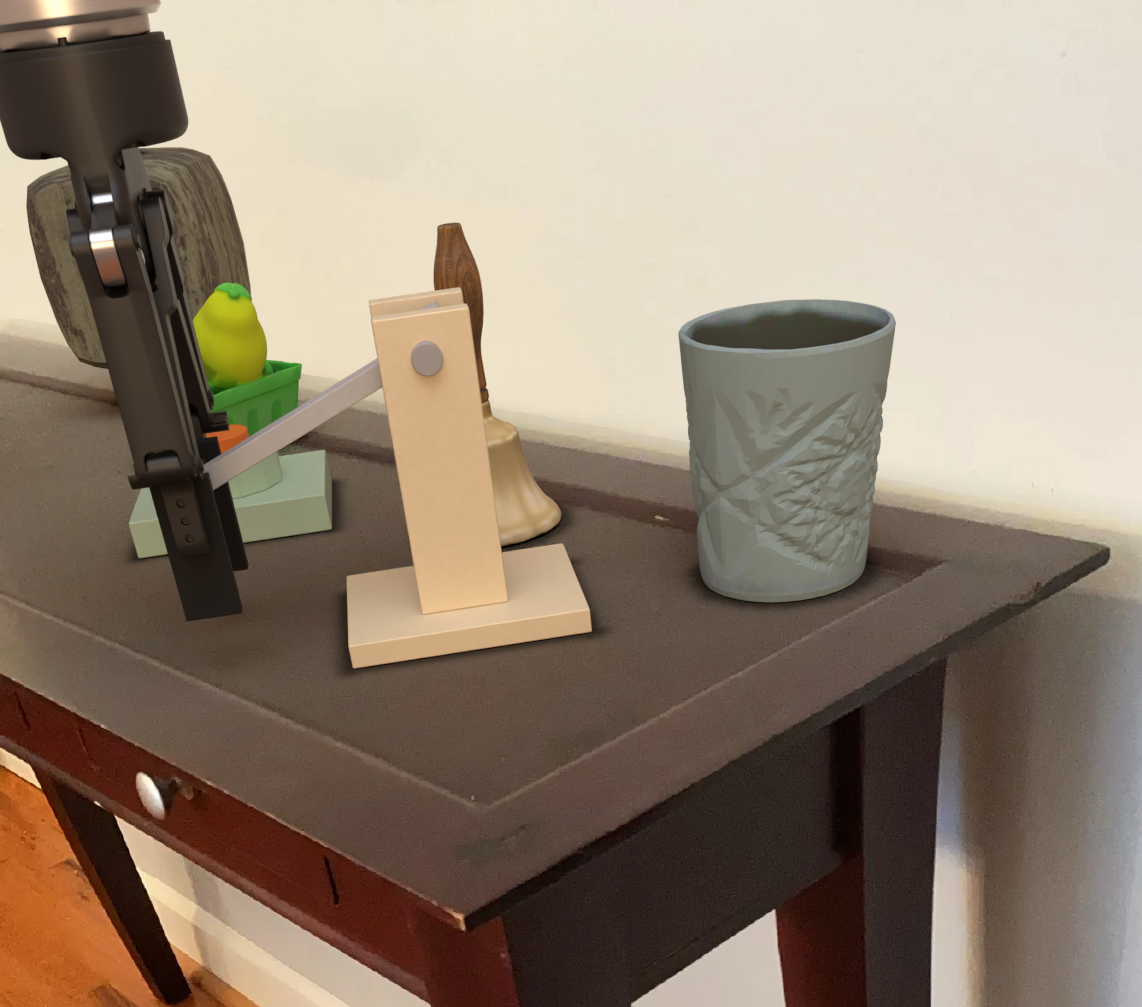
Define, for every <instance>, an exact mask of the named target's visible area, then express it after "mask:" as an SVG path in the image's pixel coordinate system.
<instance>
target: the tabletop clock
mask: <svg viewBox="0 0 1142 1007" xmlns="http://www.w3.org/2000/svg"><path fill="white" fill-rule="evenodd" d="M139 151H140V152H141V154H142V158H143V161H144V165H145V168H146V171H147V174H148V178H149V181H150V185H151V187H156V186H160V187H161V189H162V190H163V189H165V191H166V193H167V196H168V200H169V203H170V207H171V211H172V214H173V239H174V243H175V246H176V250H177V253H178V257H179V261H180V264H181V268H182V272H183V276H184V288H185V292H186V296H187V300H188V304H189V308H190V312H191V316H192V320H193V319H194V318H195V316H196V315H197V313H198V312H199V311H200V309H201V308H202V307H203V305H204V304H205V302H206V301H207V299H208V298H209V297H210V296H211V295H212V294H213V293H214V290H215V288H216V287H217V286H219V285H221V284H223V283H232V284H233V283H237V284H240V285H242V286H243V287H244V288H245V289H246V290H247V291H248V292H249V293H250V295H251V296H252V288H251V280H250V273H249V268H248V262H247V261H248V260H247V255H246V249H245V243H244V238H243V235H242V231H241V229H240V225H239V224H240V223H239V222H238V218H237V214H236V212H235V207H234V204H233V201H232V198H231V194H230V192H229V189H228V187H227V184H226V182H225V180H224V177H223V175H222V173H221V170H220V169H219V168H218V166H217V165H216V163H215V161H214V159H213V158H212V155H210V154H207V153H204V152H203V151H199V150H197V149H193V148H188V147H179V146H178V147H175V146H174V147H173V146H172V147H171V146H169V147H168V146H165V147H139ZM70 177H71V171H70V169H69V166H68V164H67V165H65V166H62V167H59V168H56V169H54V170H51V171H48V172H46V173H44V174H42V175H40V176H39V177H37V178H36V179H34V180H33V181H32V182H30V184H28V185H26V202H25V203H26V205H25V206H26V208H25V209H26V217H27V225H28V231H29V235H30V236H29V237H30V240H31V244H32V249H33V252H34V256H35V262H36V265H37V269H38V273H39V278H40V281H41V283H42V285H43V288H44V291H45V295H46V297H47V299H48V302H49V306H50V307H51V310H52V313H53V316H54V318H55V321H56V324H57V326H58V328H59V330H60V332H61V334H62V336H63V338H64V340H65V342H66V344H67V346H68V347H69V348H70V350H71V351H72V353H73V354H74V355H75V357H76V358H77V360H78V361H79V363H82V364H86V365H88V366H91V367H94V368H99V369H105V370H108V367H107V363H106V360H105V356H104V352H103V349H102V345H101V342H100V338H99V334H98V331H97V327H96V323H95V320H94V316H93V312H92V309H91V305H90V302H89V298H88V295H87V292H86V289H85V286H84V283H83V280H82V277H81V275H80V272H79V269H78V266H77V263H76V260H75V257H73V256H72V254H71V251H70V246H69V243H71V241H70V230H69V226H68V221H67V216H66V209H73V208H75V196H74V191H73V186H72V182H71V178H70Z"/></svg>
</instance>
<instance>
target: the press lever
mask: <svg viewBox="0 0 1142 1007" xmlns="http://www.w3.org/2000/svg"><path fill="white" fill-rule="evenodd" d="M437 307H438V305H437V303H436V302H435V301H434V302H432V303H430V304H429V305H427V306H425V307H424V308H422V309H421V310H423V309H430V308H437ZM381 389H383V387H382V381H381V376H380V370H379V364H378V359H377V358H375V359H374V360H371V361H370V362H369V363H367V364H365V365H364V366H362V367H360V368H358V369H357V370H355V371H354V372H353V373H351V374H349V375H347V376H346V377H344V378H342V379H341V380H340V381H338V382H336V383H334V384H333V385H331V386H329V387H328V388H326V389H325V390H323V391H321V392H320V393H318V394H317V395H315V396H313V397H312V398H309V400H307V401H305V402H304V403H302V404H300V405H298V407H297V408H295V409H294V410H292V411H291V412H289V413H287V414H286V415H284V416H282V417H281V418H279V419H278V420H276V421H274V422H273V423H271V424H269V425H268V426H266V427H265V428H263V429H261V430H260V431H258V432H256V433H255V434H253V435H252V436H250V437H248V438H247V439H245V440H243V441H242V442H240V443H239V444H237V445H235V446H234V447H232V448H230V449H229V450H227V451H226V452H224V453H222V454H221V455H219V456H217V457H216V458H214V459H213V460H211V461H209V462H208V463H207V462H206V461H205V460H204V459H202V458H200V460H202V461H203V465H204V471H203V473H208V472H209V476H210V480H211V484H212V488H213V490H215V489H216V488H218V487H220V486H221V485H223V484H225V483H226V482H228V481H230V480H231V479H233V478H234V477H236V476H238V475H239V474H241V473H243V472H244V471H246V470H248V469H249V468H251V467H252V466H254V465H256V464H257V463H259V462H261V461H262V460H264V459H266V458H267V457H269V456H270V455H272V454H274V453H275V452H277V451H278V452H279V451H281V450H282V449H284V448H285V447H287V446H288V445H290V444H292V443H294V442H295V441H297V440H299V439H300V438H301V437H303V436H305V435H306V434H308V433H310V432H312V431H313V430H315V429H316V428H318V427H319V426H322V425H323V424H324V423H326V422H328V421H330V420H331V419H332V418H334V417H336V416H338V415H339V414H341V413H343V412H344V411H346V410H348V409H349V408H350V407H352V406H354V405H356V404H358V403H359V402H361V401H362V400H364V399H366V398H367V397H369V396H370V395H372V394H374V393H376V392H377V391H378V390H381Z"/></svg>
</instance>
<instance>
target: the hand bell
mask: <svg viewBox="0 0 1142 1007" xmlns="http://www.w3.org/2000/svg"><path fill="white" fill-rule="evenodd" d="M434 254H435V255H434V261H433V289H434V290H433V291H437V290H444V289H451V288H458V287H460V288H461V290H462V294H463V302H464V304H467V305H468V308H469V313H470V320H471V328H472V335H473V342H474V350H475V357H476V365H477V372H478V379H479V387H480V394H481V402H482V409H483V417H484V424H485V431H486V439H487V446H488V454H489V461H490V468H491V476H492V483H493V491H494V498H495V506H496V513H497V520H498V528H499V535H500V543H501V547H504V546H510V545H514V544H515V545H516V544H519V543H524V542H526V541H528V540H531V539H534V538H536V537H539V536H540V535H542V534H545V533H548V532H549V531H551V530H552V529H553V528H554V527H556V526H557V525H558V524H559V523H560V521H561V519H562V511H561V509H560V508H559V506H558V503H556V502H555V501H554V500H553V499H552V498H551V497H550V496H548V495H546V493H544V491H543V490H542V489H541V488H540V486H539V485H538V483H537V482H536V480H535V479H534V477H533V475H532V472H531V470H530V467H529V466H528V463H527V460H526V457H525V454H524V450H523V447H522V443H521V439H520V434H519V431H518V429H517V427H516V426H515V425H514V424H512V423H510V422H508V421H504V420H502V419H500V418H497V417H495V416H494V415H493V411H492V407H491V401H490V393H489V390H488V388H487V386H488V385H487V378H486V373H485V368H484V362H483V356H482V334H483V327H484V315H485V314H484V313H485V312H484V310H485V309H484V294H483V285H482V280H481V274H480V271H479V267H478V265H477V262H476V259H475V257H474V254H473V253H472V250H471V248H470V245H469V243H468V240H467V239H466V236H465V232H464V230H463V226H462V223H461V222H446V223H442V224H439V225H438V226H437V228H436V247H435V253H434Z"/></svg>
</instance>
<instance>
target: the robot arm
mask: <svg viewBox="0 0 1142 1007" xmlns="http://www.w3.org/2000/svg"><path fill="white" fill-rule="evenodd" d="M161 4H162V2H161V0H0V125H1V129H2V132H3V135H4V139H5V142H6V145H7V147H8V149H9V150H10V152H11V153H12V154H13V155H14V156H16V157H17V158H20V159H23V160H28V161H45V160H51V159H58V158H61V159H63V160H64V161H66V162H67V165H68V166H69V169H70V171H71V177H70V178H71V182H72V186H73V191H74V196H75V208H73V209H66V216H67V221H68V226H69V230H70V241H71V243H69V246H70V251H71V254H72V256H73V257H75V260H76V263H77V266H78V269H79V272H80V275H81V277H82V280H83V283H84V286H85V289H86V292H87V295H88V298H89V302H90V305H91V309H92V312H93V316H94V320H95V323H96V327H97V331H98V334H99V338H100V342H101V345H102V349H103V352H104V356H105V360H106V363H107V367H108V369H107V370H108V374H109V378H110V381H111V385H112V388H113V392H114V396H115V400H116V403H117V407H118V410H119V414H120V417H121V421H122V425H123V428H124V433H125V436H126V439H127V443H128V447H129V450H130V454H131V457H132V461H133V465H132V467H133V472H134V474H129V475H127V480H128V483H129V486H130V488H131V489H132V490H133V491H134V490H141V489H143V488H149V489H150V492H151V496H152V499H153V503H154V507H155V510H156V514H157V517H158V521H159V524H160V528H161V532H162V535H163V539H164V542H165V546H166V550H167V553H168V554H167V557H168V560H169V564H170V568H171V570H172V574H173V578H174V582H175V586H176V589H177V592H178V595H179V599H180V603H181V606H182V611H183V614H184V618H185V621H186V623H187V622H194V621H200V620H208V619H214V618H221V617H227V616H235V615H242V614H243V609H244V608H243V603H242V600H241V596H240V591H239V588H238V583H237V579H236V576H235V572H239V571H246V570H249V566H250V565H249V561H248V557H247V553H246V549H245V545H244V544H245V543H243V540H242V536H241V532H240V527H239V523H238V519H237V515H236V511H235V507H234V503H233V499H232V495H231V491H230V487H229V482H226V483H225V484H223V485H221V486H220V487H218V488H216V489H215V490H213V488H212V484H211V480H210V476H209V472H208V473H203V471H204V465H203V461H202V460H200V458H202V459H204V460H205V461H206V462H207V463H208V462H209V461H211V460H213V459H214V458H216V457H217V456H219V455H221V450H220V446H219V442H218V437H217V436H215V437H208V438H207V436H206V433H213V432H221V431H228V430H229V421H228V416H227V412H226V411H223V412H216V413H211V410H213V406H214V396H213V392H212V391H210V388H209V384H208V380H207V376H206V372H205V368H204V364H203V360H202V356H201V352H200V348H199V344H198V340H197V336H196V332H195V328H194V324H193V320H192V316H191V312H190V308H189V304H188V300H187V296H186V292H185V288H184V276H183V272H182V268H181V264H180V261H179V257H178V253H177V250H176V246H175V243H174V239H173V214H172V211H171V207H170V203H169V200H168V196H167V193H166V191H165V189H163V190H162V189H161V187H160V186H156V187H151V185H150V181H149V178H148V174H147V171H146V168H145V165H144V161H143V158H142V154H141V152H140V151H139V148H147V147H150V146H156V145H159V144H164V143H167V142H171V141H173V140H177V139H179V138H181V137H182V136H183V135H185V133H186V132H187V131H188V127H189V116H188V112H187V107H186V101H185V98H184V93H183V89H182V85H181V80H180V75H179V72H178V67H177V63H176V58H175V53H174V49H173V45H172V41H171V39H166V36H165V32H164V31H163V30H158V31H157V30H156V31H151V26H150V18H149V14H153V13H154V14H155V13H157V12H158V11H159V9H160V6H161ZM159 451H162V452H159Z"/></svg>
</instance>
